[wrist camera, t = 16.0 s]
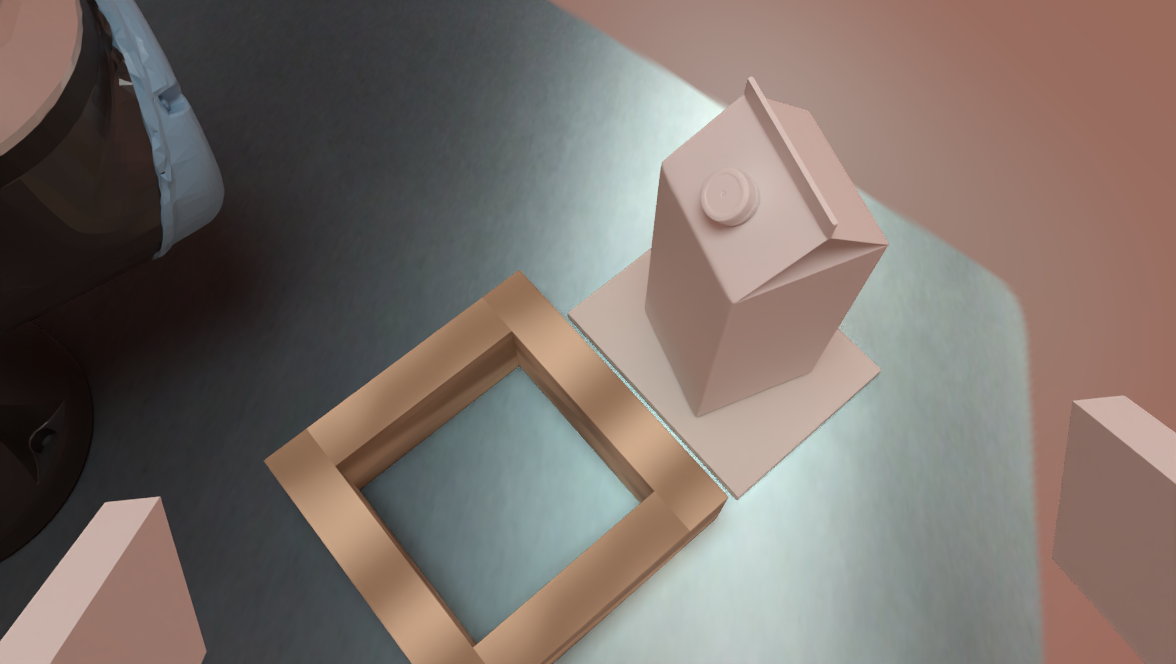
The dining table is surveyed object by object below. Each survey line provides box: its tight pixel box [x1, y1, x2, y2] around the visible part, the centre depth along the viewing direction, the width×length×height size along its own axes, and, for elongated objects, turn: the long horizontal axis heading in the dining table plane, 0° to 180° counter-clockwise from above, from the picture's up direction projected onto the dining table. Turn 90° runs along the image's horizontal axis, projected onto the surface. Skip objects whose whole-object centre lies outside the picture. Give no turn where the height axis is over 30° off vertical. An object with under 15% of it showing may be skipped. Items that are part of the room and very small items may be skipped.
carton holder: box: [264, 270, 728, 664], centre depth 47 cm, size 16×16×5 cm
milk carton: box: [645, 76, 889, 417], centre depth 44 cm, size 7×7×19 cm
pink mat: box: [568, 249, 881, 500], centre depth 53 cm, size 14×11×1 cm
